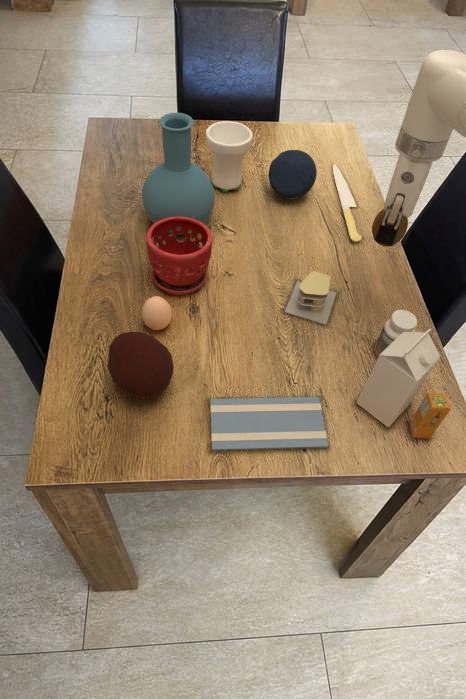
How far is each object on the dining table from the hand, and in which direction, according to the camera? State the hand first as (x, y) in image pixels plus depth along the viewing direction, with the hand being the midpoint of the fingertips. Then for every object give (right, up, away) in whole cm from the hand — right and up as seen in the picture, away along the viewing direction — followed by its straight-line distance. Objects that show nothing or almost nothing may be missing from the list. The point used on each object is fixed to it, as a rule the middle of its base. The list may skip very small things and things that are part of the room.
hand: (388, 231), depth 93 cm
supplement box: (+4, -37, -3) cm, 37 cm away
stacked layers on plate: (-12, -12, +14) cm, 22 cm away
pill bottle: (+2, -22, +8) cm, 24 cm away
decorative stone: (-14, +18, +37) cm, 44 cm away
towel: (-23, -35, -4) cm, 42 cm away
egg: (-44, -17, +8) cm, 48 cm away
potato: (-45, -28, 0) cm, 53 cm away
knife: (+1, +16, +37) cm, 40 cm away
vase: (-42, +9, +28) cm, 51 cm away
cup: (-30, +21, +38) cm, 53 cm away
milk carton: (-1, -32, 0) cm, 32 cm away
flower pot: (-40, -7, +17) cm, 44 cm away
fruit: (0, -2, +3) cm, 3 cm away
